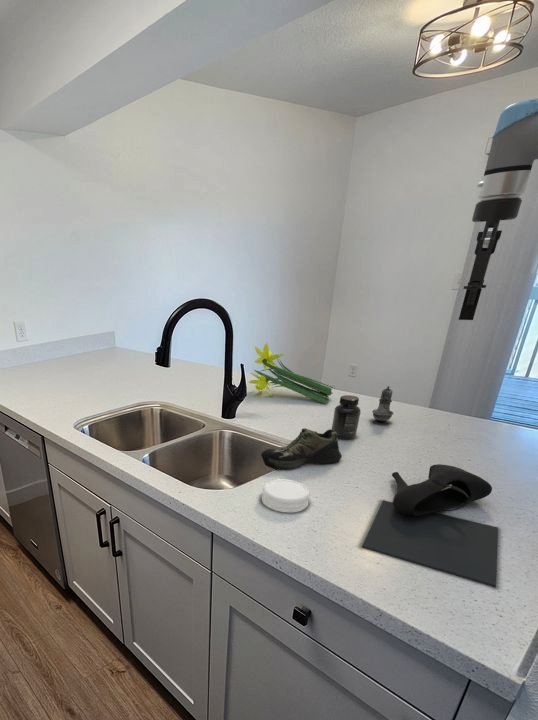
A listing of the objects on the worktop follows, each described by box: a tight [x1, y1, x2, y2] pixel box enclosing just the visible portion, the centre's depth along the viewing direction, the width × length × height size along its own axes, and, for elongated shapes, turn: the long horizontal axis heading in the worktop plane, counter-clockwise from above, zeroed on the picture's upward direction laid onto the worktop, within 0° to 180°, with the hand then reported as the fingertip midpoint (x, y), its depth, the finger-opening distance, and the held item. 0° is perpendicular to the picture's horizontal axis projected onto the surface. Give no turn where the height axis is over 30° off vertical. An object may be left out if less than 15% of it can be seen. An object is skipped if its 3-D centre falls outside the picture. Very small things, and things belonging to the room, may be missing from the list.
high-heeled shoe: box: [391, 463, 493, 516], centre depth 91 cm, size 8×19×20 cm
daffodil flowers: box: [247, 342, 336, 405], centre depth 165 cm, size 17×15×35 cm
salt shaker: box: [371, 385, 394, 426], centre depth 135 cm, size 6×6×12 cm
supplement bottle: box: [330, 394, 361, 441], centre depth 127 cm, size 7×7×12 cm
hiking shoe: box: [260, 427, 343, 471], centre depth 114 cm, size 8×21×9 cm, turn 99°
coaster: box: [261, 478, 311, 514], centre depth 97 cm, size 10×10×4 cm
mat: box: [361, 499, 499, 588], centre depth 83 cm, size 20×20×1 cm
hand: (465, 319), depth 100 cm, fingers closed
